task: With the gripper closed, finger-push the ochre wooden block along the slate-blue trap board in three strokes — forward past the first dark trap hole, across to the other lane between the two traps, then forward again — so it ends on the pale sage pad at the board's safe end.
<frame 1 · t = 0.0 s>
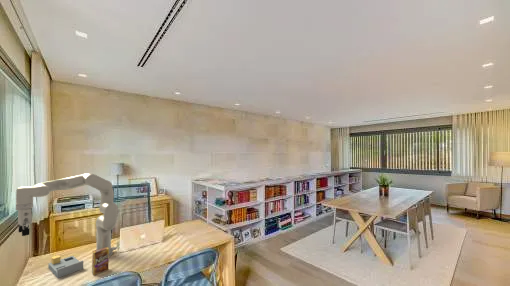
hand: (23, 233, 141), 31 cm above the table, fingers open, 9 cm apart
trap board: (65, 267, 158), on the table
block: (55, 262, 160), point 3 cm above the table, touching trap board
candy box: (100, 272, 154), on the table
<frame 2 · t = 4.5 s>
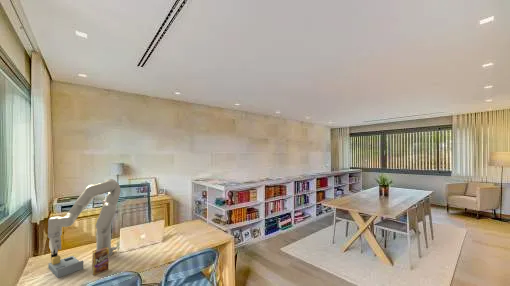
hand: (54, 259, 162), 4 cm above the table, fingers closed
block: (55, 262, 160), point 3 cm above the table, touching gripper
everything else where it was.
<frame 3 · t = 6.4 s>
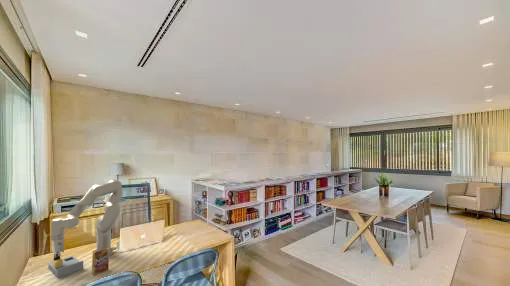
hand: (56, 262, 158), 4 cm above the table, fingers closed
block: (58, 266, 155), point 3 cm above the table, touching gripper, trap board
everything else where it was.
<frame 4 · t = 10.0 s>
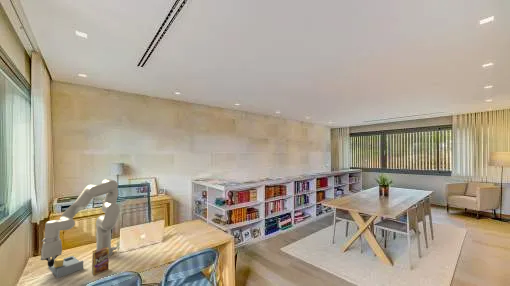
hand: (50, 266, 152), 5 cm above the table, fingers closed
block: (58, 265, 155), point 3 cm above the table, tilted 8°, touching gripper, trap board
everything else where it was.
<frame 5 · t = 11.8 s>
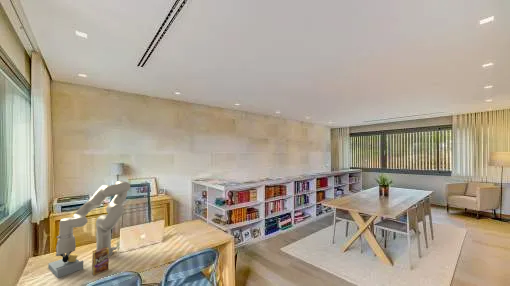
hand: (65, 261, 159), 4 cm above the table, fingers closed
block: (71, 260, 161), point 4 cm above the table, tilted 19°, touching gripper, trap board
everything else where it was.
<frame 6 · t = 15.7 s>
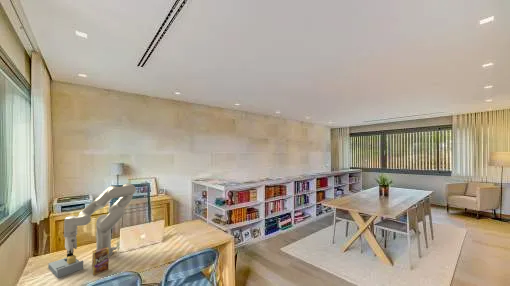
hand: (70, 258, 163), 4 cm above the table, fingers closed
block: (71, 262, 160), point 3 cm above the table, touching gripper
everything else where it was.
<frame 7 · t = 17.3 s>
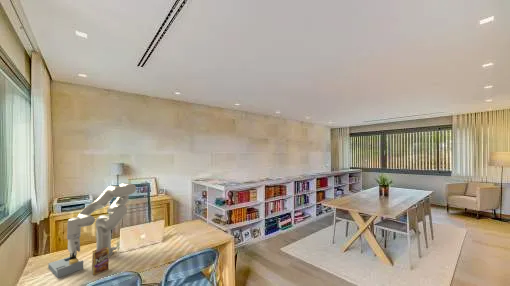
hand: (72, 261, 159), 4 cm above the table, fingers closed
block: (73, 265, 156), point 3 cm above the table, touching gripper, trap board
everything else where it was.
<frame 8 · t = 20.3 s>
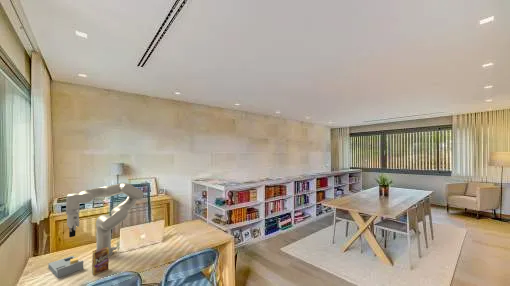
hand: (72, 236, 162), 21 cm above the table, fingers closed
block: (74, 265, 157), point 3 cm above the table, touching trap board
everything else where it was.
at the end: block 0.8 cm from the target spot on the trap board, point 3.0 cm above the trap board's base; block tilted 0° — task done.
